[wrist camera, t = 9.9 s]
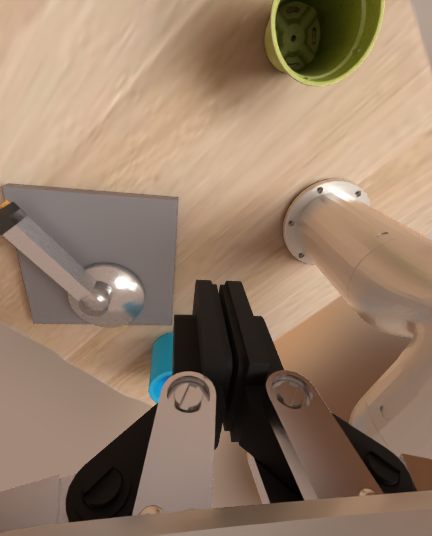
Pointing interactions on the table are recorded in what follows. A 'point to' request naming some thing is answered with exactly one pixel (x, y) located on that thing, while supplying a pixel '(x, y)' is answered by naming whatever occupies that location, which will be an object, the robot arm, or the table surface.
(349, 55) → the plant pot
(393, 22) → the table surface
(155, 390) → the mug
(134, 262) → the stand base
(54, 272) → the lever
